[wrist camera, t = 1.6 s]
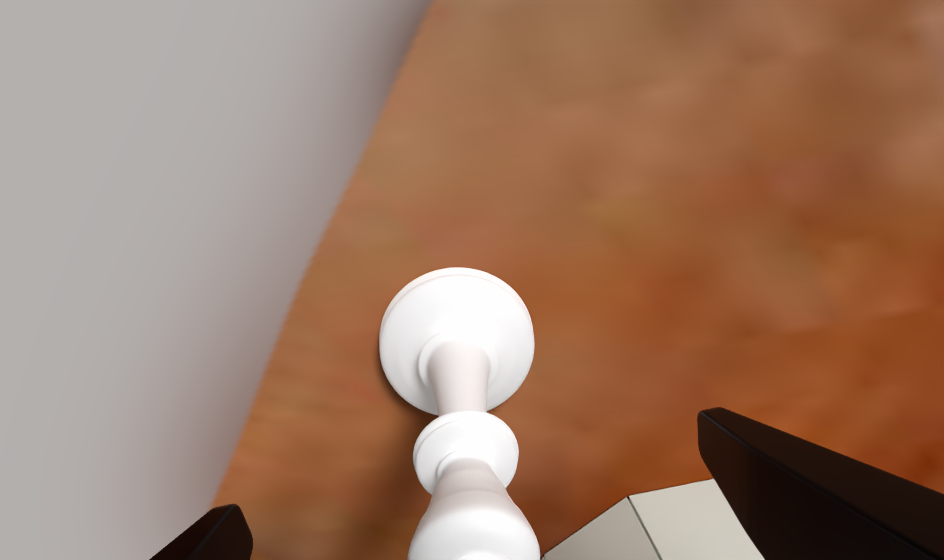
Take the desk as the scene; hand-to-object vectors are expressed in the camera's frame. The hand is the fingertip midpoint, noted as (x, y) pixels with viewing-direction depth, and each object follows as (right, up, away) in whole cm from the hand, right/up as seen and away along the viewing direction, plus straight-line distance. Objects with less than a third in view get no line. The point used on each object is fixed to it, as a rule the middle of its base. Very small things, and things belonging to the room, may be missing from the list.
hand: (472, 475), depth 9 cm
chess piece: (0, +2, +6) cm, 6 cm away
